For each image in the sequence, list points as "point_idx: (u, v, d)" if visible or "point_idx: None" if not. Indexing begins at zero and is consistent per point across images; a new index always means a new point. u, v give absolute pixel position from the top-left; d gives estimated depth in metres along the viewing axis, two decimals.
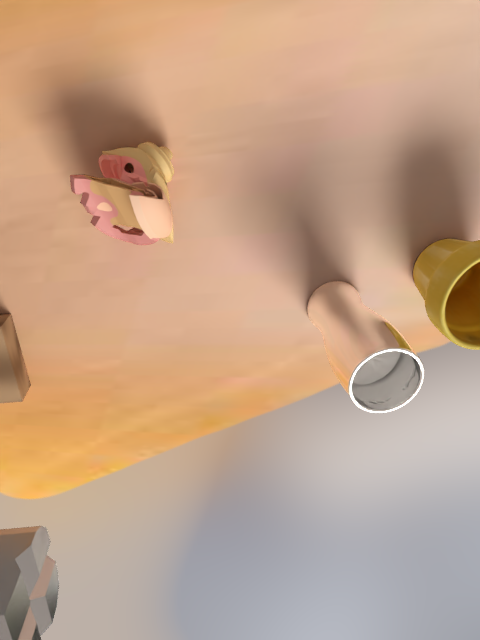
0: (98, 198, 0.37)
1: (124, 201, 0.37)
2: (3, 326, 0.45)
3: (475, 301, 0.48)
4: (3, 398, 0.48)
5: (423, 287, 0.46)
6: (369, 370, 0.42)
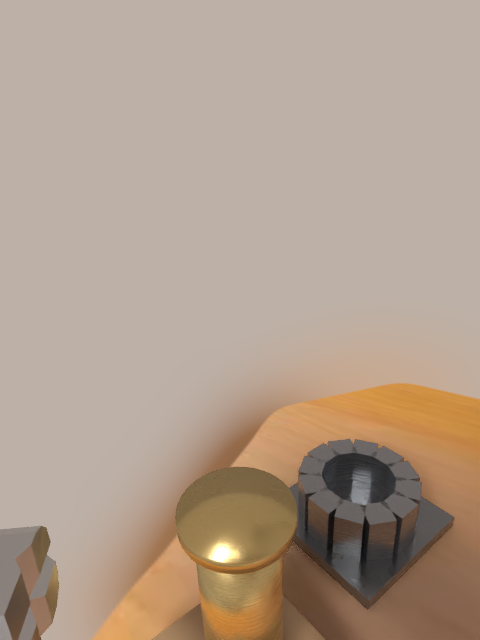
0: None
1: None
2: None
3: None
4: None
5: None
6: None
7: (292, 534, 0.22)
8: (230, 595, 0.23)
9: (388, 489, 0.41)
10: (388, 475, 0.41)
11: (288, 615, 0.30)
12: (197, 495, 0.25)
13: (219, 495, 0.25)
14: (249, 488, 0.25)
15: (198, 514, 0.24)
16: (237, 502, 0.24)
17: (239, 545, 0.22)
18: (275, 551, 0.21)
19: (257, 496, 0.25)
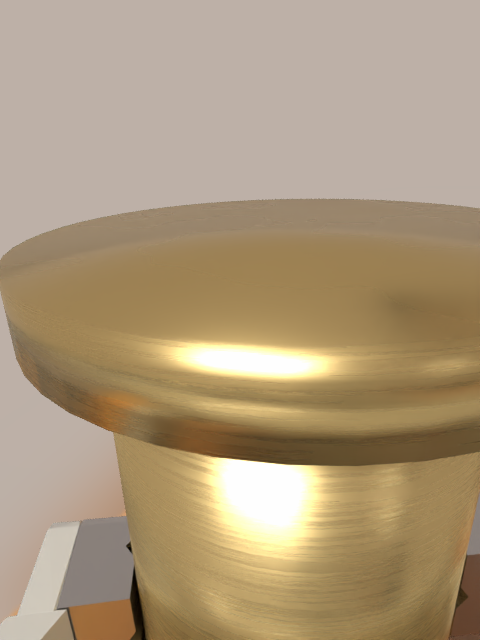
0: None
1: None
2: None
3: None
4: None
5: None
6: None
7: None
8: (272, 625, 0.04)
9: None
10: None
11: None
12: (134, 222, 0.06)
13: (220, 219, 0.06)
14: (333, 212, 0.07)
15: (123, 241, 0.05)
16: (296, 224, 0.06)
17: (353, 291, 0.03)
18: None
19: (373, 217, 0.06)
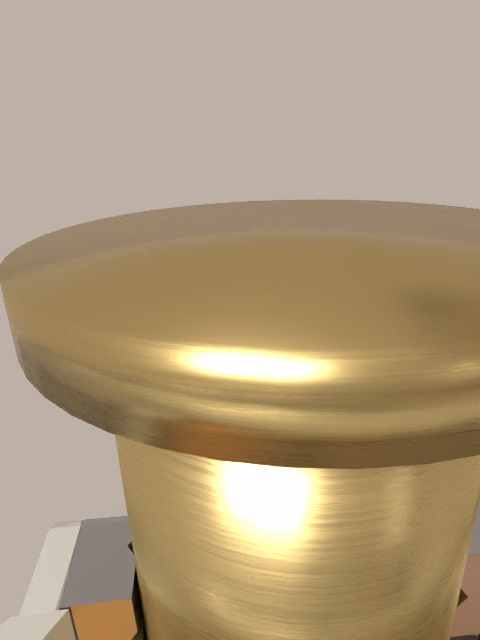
0: None
1: None
2: None
3: None
4: None
5: None
6: None
7: None
8: (274, 626, 0.04)
9: None
10: None
11: None
12: (135, 224, 0.06)
13: (221, 221, 0.06)
14: (334, 213, 0.07)
15: (124, 243, 0.05)
16: (298, 226, 0.06)
17: (355, 293, 0.03)
18: None
19: (375, 218, 0.06)
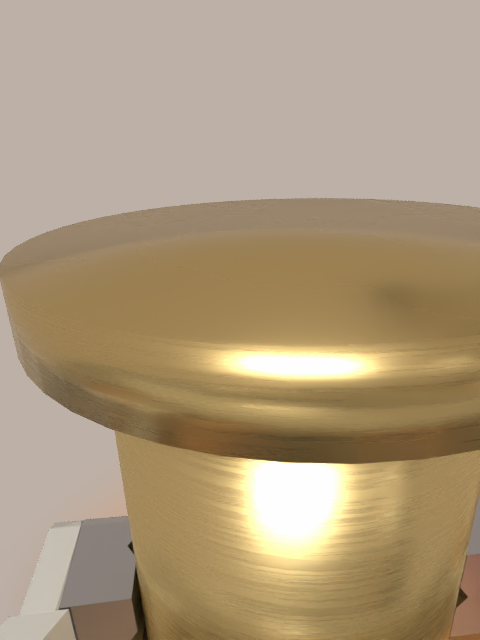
0: None
1: None
2: None
3: None
4: None
5: None
6: None
7: None
8: (273, 622, 0.04)
9: None
10: None
11: None
12: (135, 222, 0.06)
13: (221, 219, 0.06)
14: (333, 211, 0.07)
15: (124, 241, 0.05)
16: (297, 224, 0.06)
17: (354, 290, 0.03)
18: None
19: (374, 217, 0.06)
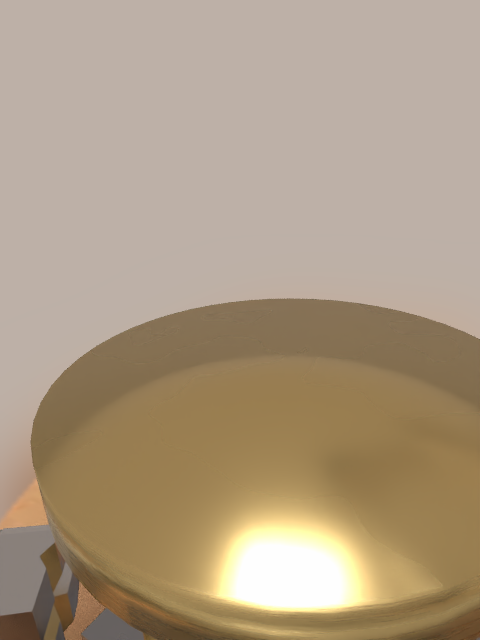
0: None
1: None
2: None
3: None
4: None
5: None
6: None
7: None
8: None
9: None
10: None
11: None
12: (143, 349, 0.07)
13: (220, 347, 0.07)
14: (322, 332, 0.07)
15: (135, 393, 0.06)
16: (289, 361, 0.07)
17: (330, 504, 0.04)
18: None
19: (358, 347, 0.07)
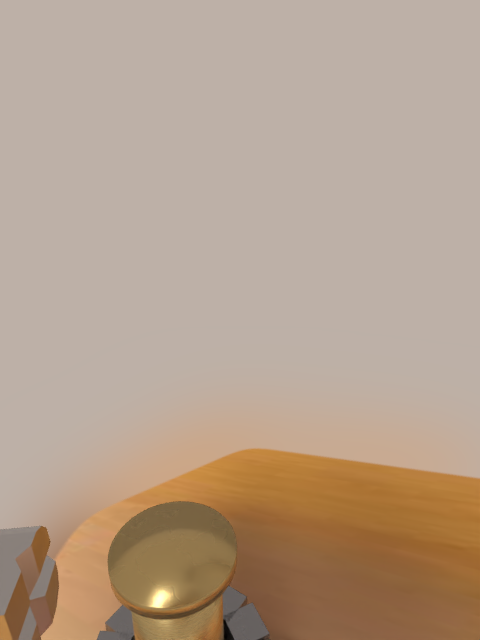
0: None
1: None
2: None
3: None
4: None
5: None
6: None
7: (228, 577, 0.21)
8: None
9: None
10: (227, 634, 0.27)
11: None
12: (135, 531, 0.24)
13: (158, 532, 0.24)
14: (190, 525, 0.24)
15: (132, 552, 0.22)
16: (176, 539, 0.23)
17: (170, 588, 0.21)
18: (207, 596, 0.20)
19: (197, 534, 0.24)
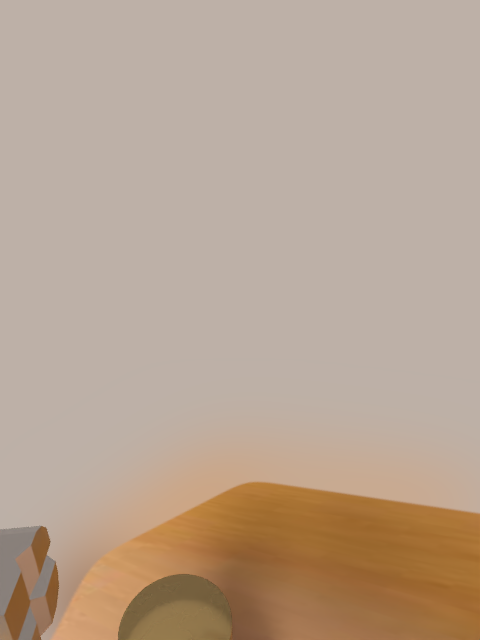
0: None
1: None
2: None
3: None
4: None
5: None
6: None
7: None
8: None
9: None
10: None
11: None
12: (141, 607, 0.27)
13: (162, 608, 0.27)
14: (190, 600, 0.27)
15: (139, 630, 0.25)
16: (178, 616, 0.26)
17: None
18: None
19: (197, 610, 0.26)
